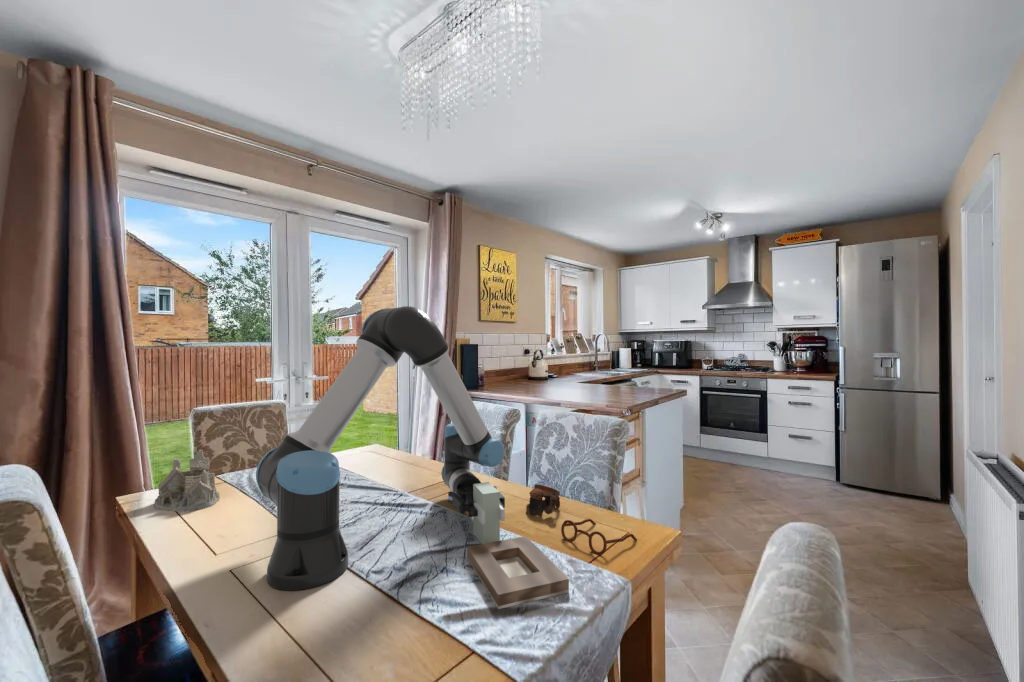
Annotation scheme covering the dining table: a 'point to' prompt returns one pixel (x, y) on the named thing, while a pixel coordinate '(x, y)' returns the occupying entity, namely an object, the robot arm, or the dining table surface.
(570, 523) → the glasses
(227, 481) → the dining table surface
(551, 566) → the taupe picture frame
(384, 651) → the dining table surface
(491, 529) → the grey-green rectangular block
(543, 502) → the brown piece
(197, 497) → the ceramic cottage
